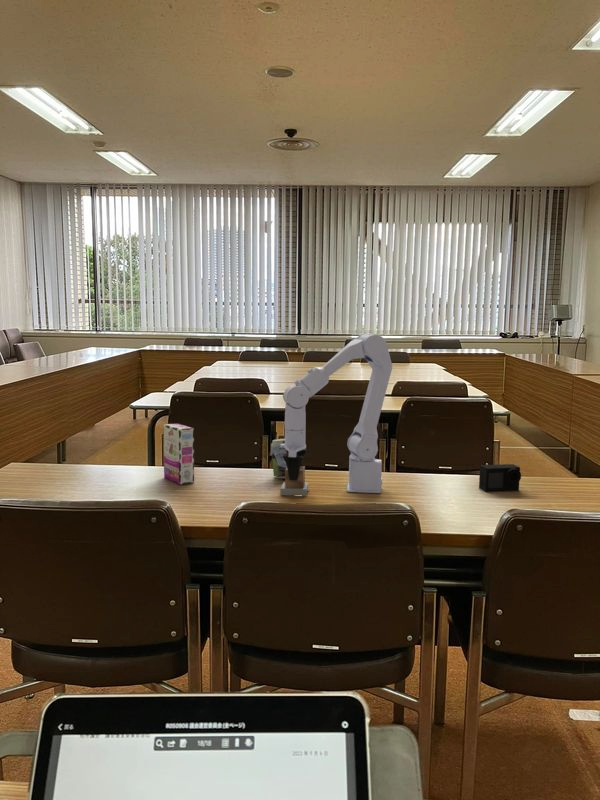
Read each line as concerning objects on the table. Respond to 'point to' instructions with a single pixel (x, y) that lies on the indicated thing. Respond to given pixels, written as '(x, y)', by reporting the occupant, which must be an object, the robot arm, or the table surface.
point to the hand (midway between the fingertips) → (294, 477)
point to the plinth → (294, 490)
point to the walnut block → (295, 483)
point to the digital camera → (499, 478)
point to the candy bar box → (179, 453)
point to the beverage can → (278, 458)
